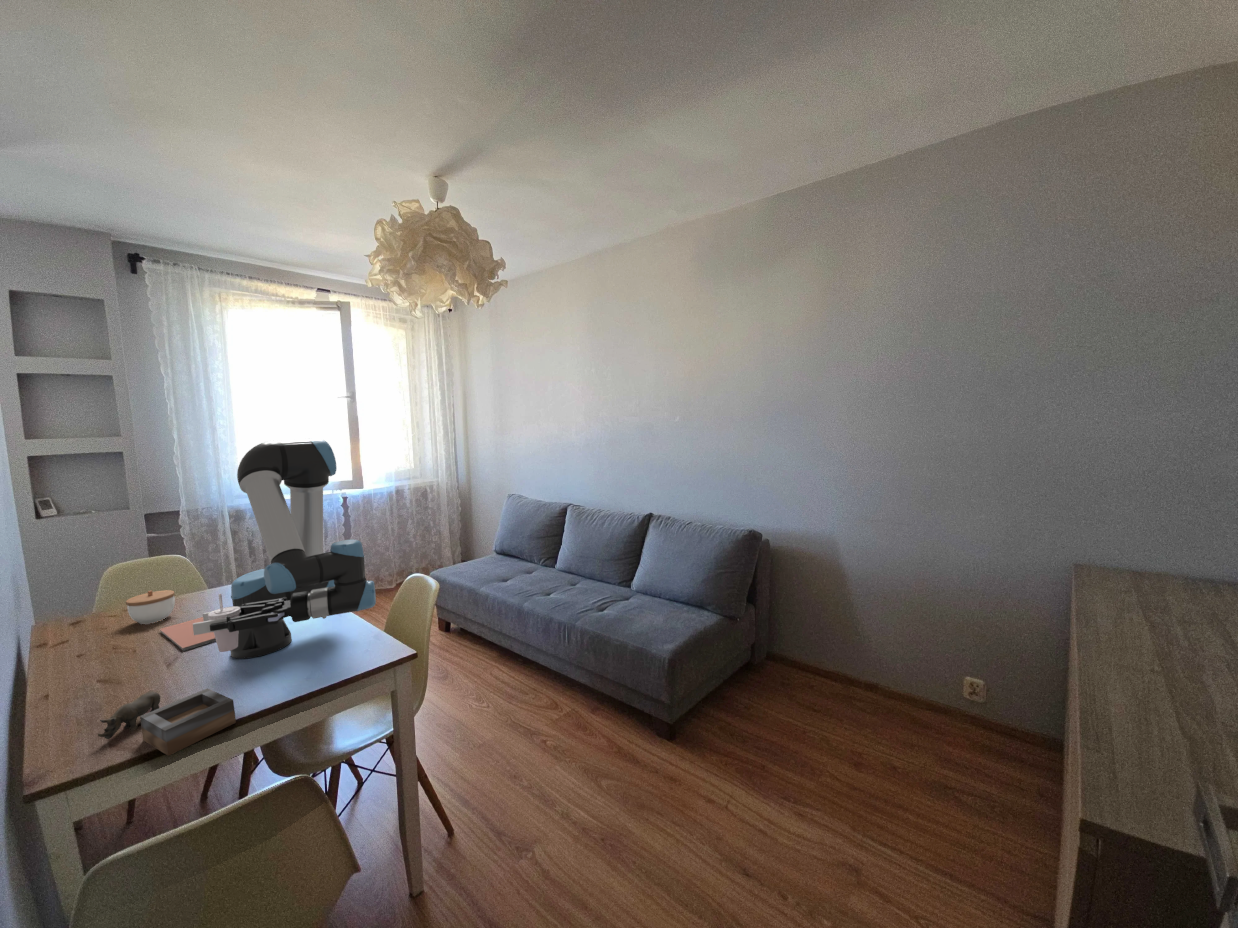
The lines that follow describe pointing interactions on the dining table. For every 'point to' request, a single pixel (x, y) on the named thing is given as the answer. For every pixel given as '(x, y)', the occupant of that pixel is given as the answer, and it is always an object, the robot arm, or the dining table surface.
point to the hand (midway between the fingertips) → (199, 623)
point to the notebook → (187, 635)
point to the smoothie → (224, 637)
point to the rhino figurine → (130, 713)
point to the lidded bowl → (151, 606)
